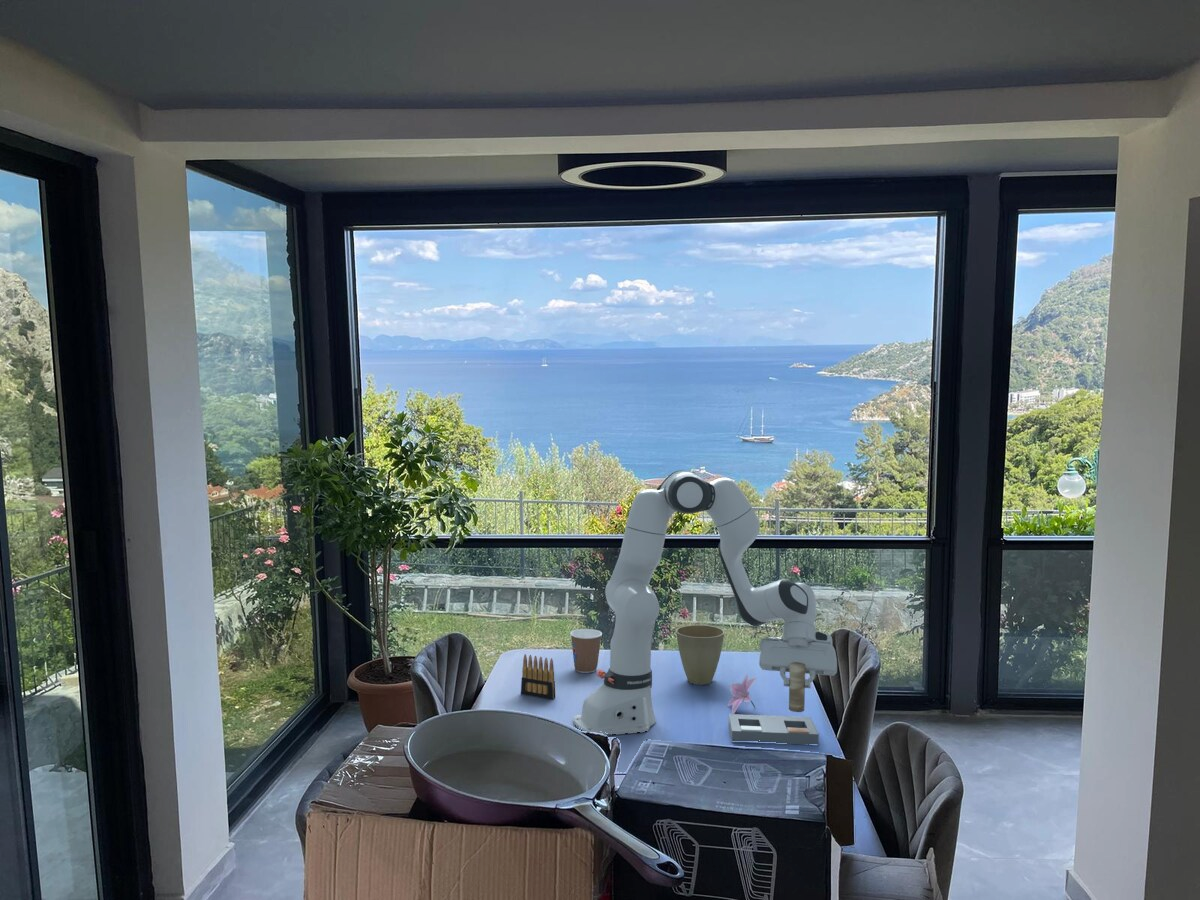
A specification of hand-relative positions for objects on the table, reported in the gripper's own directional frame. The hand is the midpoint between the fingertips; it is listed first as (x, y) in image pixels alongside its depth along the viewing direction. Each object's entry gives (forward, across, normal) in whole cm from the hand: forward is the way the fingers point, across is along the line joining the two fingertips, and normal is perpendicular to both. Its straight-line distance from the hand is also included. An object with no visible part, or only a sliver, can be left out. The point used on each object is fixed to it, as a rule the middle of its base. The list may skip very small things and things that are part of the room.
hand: (797, 686), depth 233 cm
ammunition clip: (+2, -75, +17) cm, 77 cm away
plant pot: (-17, -31, +36) cm, 50 cm away
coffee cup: (-18, -67, +37) cm, 79 cm away
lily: (-2, -16, +22) cm, 27 cm away
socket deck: (+10, -6, +9) cm, 15 cm away
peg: (+4, 0, +5) cm, 6 cm away
